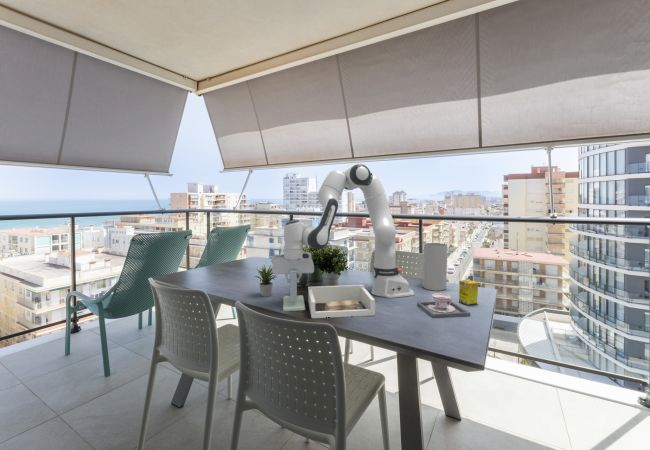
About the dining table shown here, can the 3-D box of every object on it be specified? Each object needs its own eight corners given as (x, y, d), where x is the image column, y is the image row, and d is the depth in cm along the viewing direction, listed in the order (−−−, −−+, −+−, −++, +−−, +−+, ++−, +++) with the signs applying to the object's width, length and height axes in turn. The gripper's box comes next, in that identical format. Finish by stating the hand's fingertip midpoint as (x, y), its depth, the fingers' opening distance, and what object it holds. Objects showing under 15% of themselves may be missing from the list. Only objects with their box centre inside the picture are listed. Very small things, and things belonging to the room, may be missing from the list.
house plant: (274, 300, 165) (273, 268, 164) (248, 299, 168) (247, 267, 167) (283, 292, 179) (282, 262, 178) (259, 291, 182) (258, 262, 181)
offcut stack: (354, 308, 154) (354, 299, 153) (360, 313, 147) (360, 303, 147) (324, 311, 150) (324, 302, 149) (328, 316, 143) (328, 306, 143)
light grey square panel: (296, 301, 154) (296, 271, 152) (290, 301, 153) (290, 271, 152) (296, 292, 167) (295, 265, 166) (290, 292, 167) (289, 265, 166)
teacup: (422, 308, 154) (422, 295, 153) (437, 303, 161) (437, 290, 161) (446, 315, 145) (446, 301, 144) (460, 309, 152) (460, 296, 152)
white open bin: (363, 300, 166) (363, 284, 165) (374, 315, 144) (374, 297, 143) (308, 302, 163) (308, 286, 162) (311, 318, 141) (311, 300, 140)
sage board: (303, 297, 171) (303, 295, 171) (305, 310, 151) (305, 308, 151) (283, 297, 170) (283, 296, 170) (283, 311, 150) (283, 308, 150)
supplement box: (458, 302, 162) (459, 280, 161) (468, 301, 164) (468, 279, 163) (467, 306, 156) (468, 283, 155) (477, 304, 158) (478, 282, 157)
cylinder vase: (448, 291, 180) (449, 246, 178) (424, 290, 182) (425, 245, 180) (443, 285, 192) (444, 243, 190) (421, 284, 194) (422, 242, 192)
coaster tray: (450, 303, 160) (450, 300, 159) (470, 316, 143) (470, 312, 143) (417, 305, 158) (417, 302, 157) (432, 317, 141) (432, 314, 141)
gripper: (270, 255, 154) (271, 284, 155) (314, 254, 156) (314, 283, 158) (271, 253, 160) (271, 281, 162) (313, 252, 163) (313, 280, 164)
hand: (293, 282), depth 160 cm, fingers closed on light grey square panel, 3 cm apart
